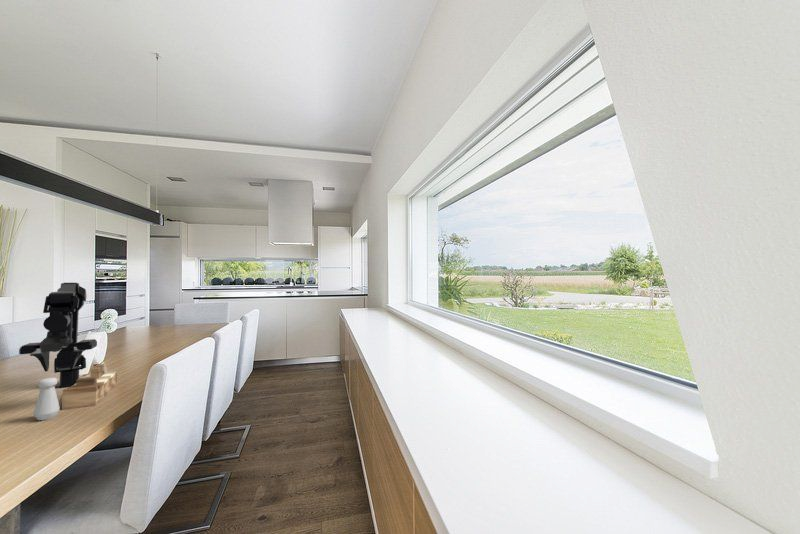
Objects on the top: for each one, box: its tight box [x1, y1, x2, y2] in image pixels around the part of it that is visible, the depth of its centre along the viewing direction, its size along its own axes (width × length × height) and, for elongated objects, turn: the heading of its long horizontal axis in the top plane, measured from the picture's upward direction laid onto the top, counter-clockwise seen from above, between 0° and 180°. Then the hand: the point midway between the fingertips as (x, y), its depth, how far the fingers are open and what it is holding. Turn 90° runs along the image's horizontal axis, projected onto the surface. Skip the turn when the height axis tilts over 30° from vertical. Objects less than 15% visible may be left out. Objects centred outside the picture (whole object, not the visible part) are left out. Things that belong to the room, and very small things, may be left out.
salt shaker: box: [33, 377, 61, 422], centre depth 106 cm, size 6×6×13 cm
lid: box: [74, 364, 117, 385], centre depth 126 cm, size 17×9×6 cm, turn 27°
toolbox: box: [61, 372, 118, 411], centre depth 123 cm, size 22×9×7 cm, turn 27°
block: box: [76, 376, 97, 387], centre depth 119 cm, size 2×5×2 cm, turn 117°
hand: (59, 370), depth 115 cm, fingers open, 6 cm apart
